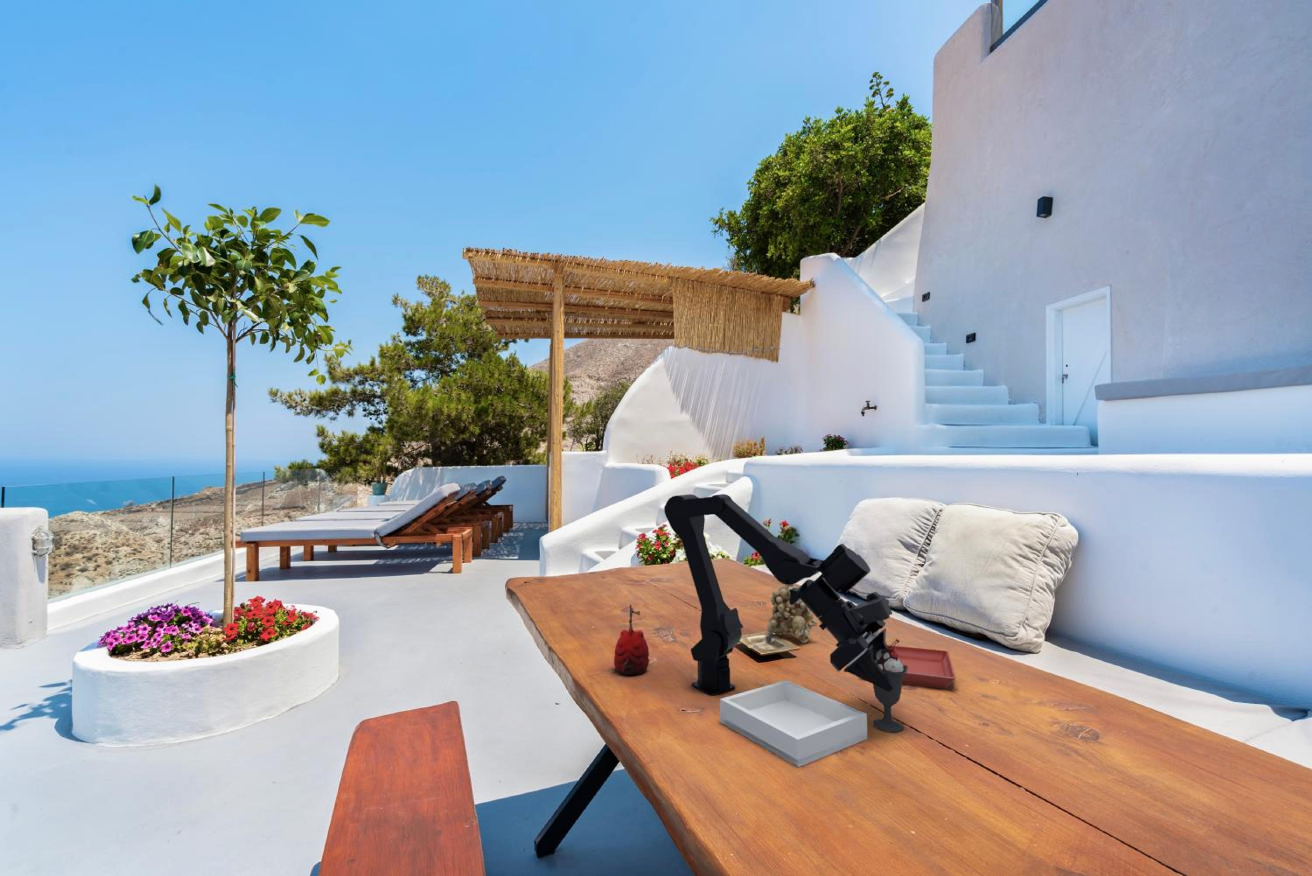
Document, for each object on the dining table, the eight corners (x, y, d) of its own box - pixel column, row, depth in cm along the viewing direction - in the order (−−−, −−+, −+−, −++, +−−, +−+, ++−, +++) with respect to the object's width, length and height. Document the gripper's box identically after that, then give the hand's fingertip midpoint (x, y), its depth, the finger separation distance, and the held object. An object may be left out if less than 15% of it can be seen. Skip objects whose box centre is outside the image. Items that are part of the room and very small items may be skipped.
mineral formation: (779, 631, 157) (778, 574, 158) (823, 642, 147) (822, 581, 148) (760, 637, 152) (760, 578, 152) (805, 649, 142) (804, 586, 142)
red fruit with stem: (650, 666, 130) (650, 598, 130) (646, 678, 123) (646, 606, 123) (616, 665, 130) (616, 597, 131) (610, 677, 123) (610, 605, 124)
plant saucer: (858, 682, 121) (858, 666, 121) (862, 655, 138) (862, 641, 138) (956, 695, 114) (956, 678, 114) (948, 665, 131) (948, 650, 131)
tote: (720, 722, 102) (720, 699, 102) (785, 701, 110) (785, 680, 111) (798, 767, 87) (798, 739, 87) (867, 739, 95) (866, 714, 96)
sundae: (913, 736, 96) (911, 644, 97) (870, 733, 97) (868, 641, 98) (904, 719, 103) (903, 632, 103) (864, 716, 104) (863, 630, 105)
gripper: (848, 589, 95) (924, 670, 89) (872, 571, 111) (938, 639, 105) (801, 631, 99) (871, 712, 93) (831, 608, 115) (892, 675, 109)
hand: (895, 682), depth 100 cm, fingers open, 8 cm apart
